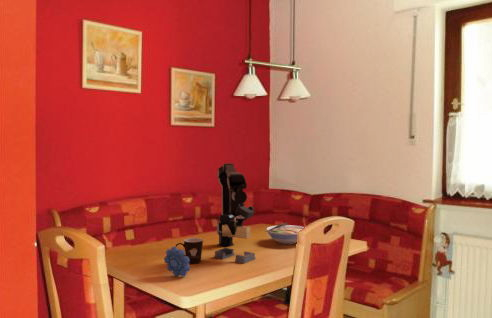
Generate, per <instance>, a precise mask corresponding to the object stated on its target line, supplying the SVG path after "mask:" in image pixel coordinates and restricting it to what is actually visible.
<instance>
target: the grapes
mask: <svg viewBox="0 0 492 318" xmlns="http://www.w3.org/2000/svg"><path fill="white" fill-rule="evenodd" d="M184 255H185V250H184V249H182V248H181V249H178V247H177V248H176V246H172V247H171V248H170V249H169V248H167V249H166V250H165V255H164V258H163V261H164V263H166V264H167V265H166V269H167V271H169V272H172V274H173V275H174V276H175V277H179V276H181V277H186V275H187V272H190V271H191V267H190V264H188V263H189V261H190V260H189V258H188V257H187V256H184Z"/></svg>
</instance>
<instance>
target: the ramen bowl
mask: <svg viewBox="0 0 492 318" xmlns="http://www.w3.org/2000/svg"><path fill="white" fill-rule="evenodd" d="M304 227H305V226H301V225H294V224H293V225H290V224H289V222H283V223H280V224H278V225H272V226H268V227H267V228H266V230H265V232H267V233H268V235H269V236H270V238H271V239H272V240H274V241H276V242H279V243H280V244H282V245H293V244H295V243H298V242H297V234H298V232H299V231H300V230H302V229H303V228H304Z"/></svg>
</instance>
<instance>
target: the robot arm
mask: <svg viewBox="0 0 492 318" xmlns="http://www.w3.org/2000/svg"><path fill="white" fill-rule="evenodd" d="M216 175H217V179H218V183H219V185H220V186H221V214H219V216H218V223H217V226H216V234H217V235H218V243H217V244H216V245H217V246H218V247H224V248H228V247H231V246H234V245H235V244H234V243H233V240H234V237H227V236H222V225H225V224H227V225H228V227H229V229H230V231H231V233H232V235H235V226H236V225H240V226H243V224H244V222H245V221H247V220H248V219H250V218H252V216H253V215H254V214H255V207H254V206H252V205H251V206H249V207H248V206H247V207H246V206H245V203H246V201H247V200H248V195H247V193H246V192H245V191H244V190H246V189H247V186H248V185H247V182H246V181H247V180H246V177H245V176H244V174H243V173H241V172H238V171H237V169H236V168H235V165H234V163H233V162H229V163H227V162H226V163H223V164H222V166H220V167H219V168H218V169H217V174H216Z"/></svg>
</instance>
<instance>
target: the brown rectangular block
mask: <svg viewBox="0 0 492 318" xmlns="http://www.w3.org/2000/svg"><path fill="white" fill-rule="evenodd" d="M222 236H227V237H233V238H237V239H245V240H247V239H250V238H251V226H247V225H242V226H240V225H236V226H235V235H232V233H231V231H230V229H229V227H228V225H227V224H225V225H222Z"/></svg>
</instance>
